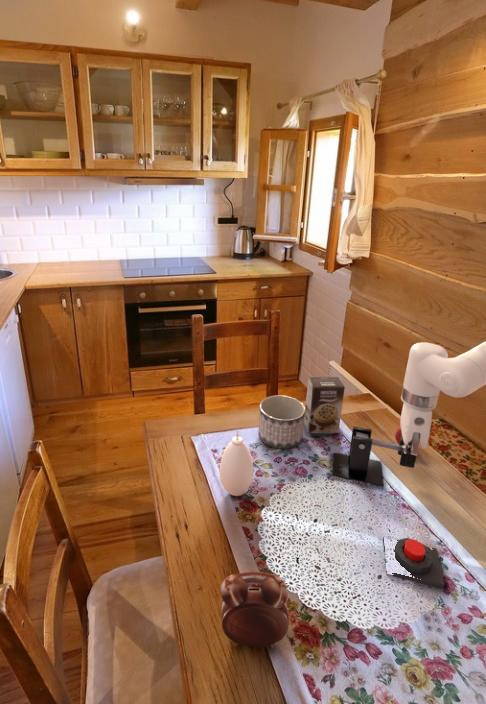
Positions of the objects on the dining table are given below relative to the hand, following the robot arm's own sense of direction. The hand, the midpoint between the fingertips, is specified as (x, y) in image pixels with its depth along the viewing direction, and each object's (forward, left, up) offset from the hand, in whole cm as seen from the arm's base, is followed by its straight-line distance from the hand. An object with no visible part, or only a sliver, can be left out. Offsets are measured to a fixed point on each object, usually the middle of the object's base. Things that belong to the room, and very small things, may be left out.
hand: (405, 459), depth 99 cm
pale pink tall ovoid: (+39, +16, -7) cm, 42 cm away
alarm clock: (+28, +46, -7) cm, 55 cm away
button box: (+1, +24, -6) cm, 25 cm away
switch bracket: (+11, 0, -6) cm, 12 cm away
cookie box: (+21, -16, -7) cm, 27 cm away
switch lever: (+5, 0, +2) cm, 5 cm away
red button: (+1, +24, -4) cm, 24 cm away
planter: (+32, -8, -7) cm, 33 cm away
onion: (-2, -14, -7) cm, 16 cm away
